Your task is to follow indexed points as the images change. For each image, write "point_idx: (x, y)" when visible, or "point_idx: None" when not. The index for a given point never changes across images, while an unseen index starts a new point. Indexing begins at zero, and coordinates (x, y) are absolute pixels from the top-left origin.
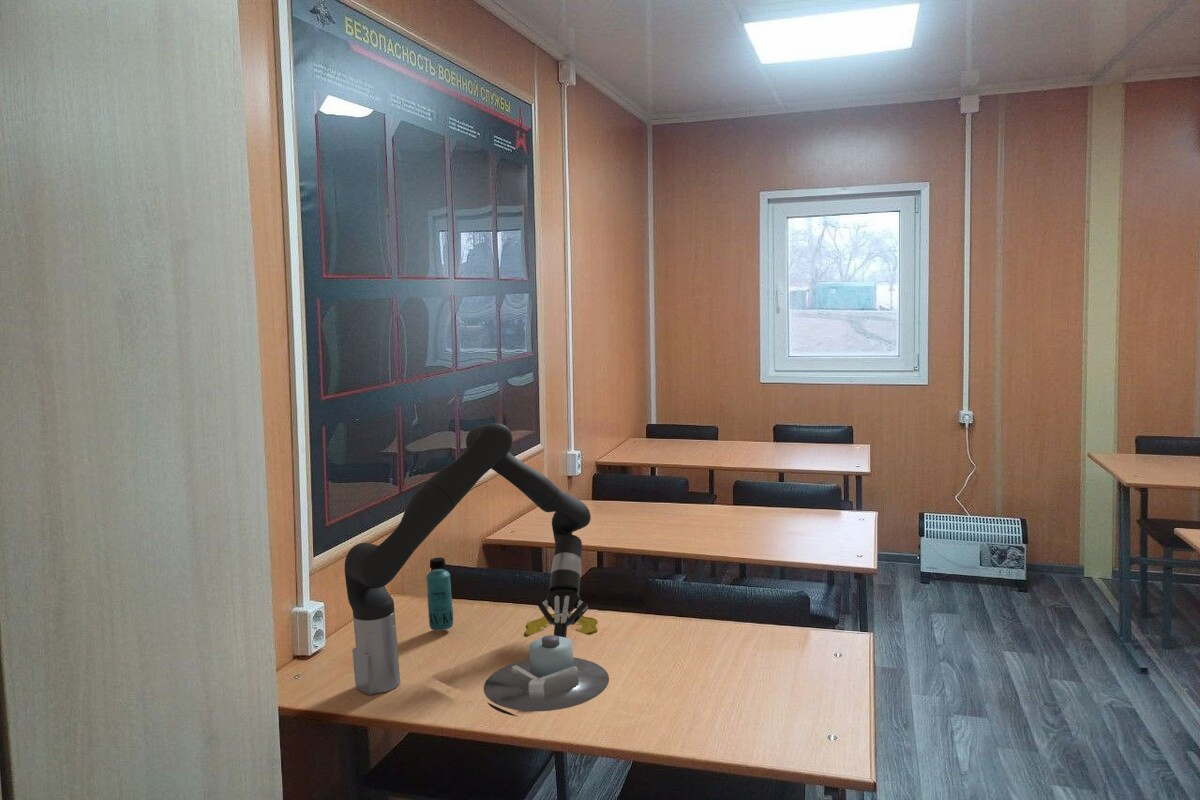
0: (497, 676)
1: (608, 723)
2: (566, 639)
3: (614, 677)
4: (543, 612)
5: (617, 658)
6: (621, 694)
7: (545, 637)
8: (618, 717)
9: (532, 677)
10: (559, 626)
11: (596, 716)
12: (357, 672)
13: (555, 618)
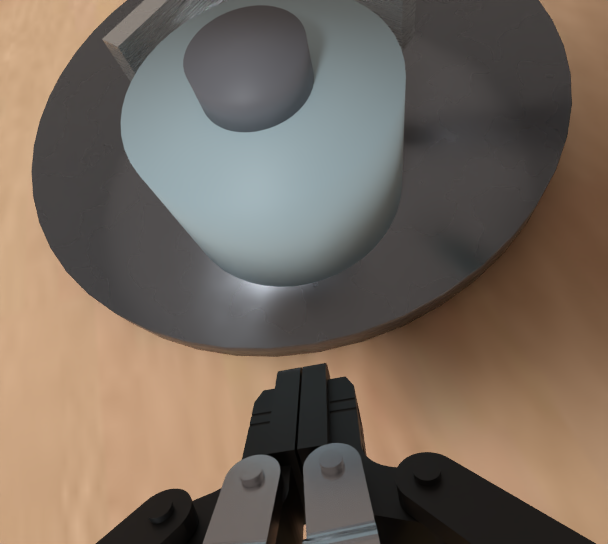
0: (526, 63)
1: (51, 2)
2: (171, 180)
3: (31, 254)
4: (574, 540)
5: (12, 468)
6: (11, 142)
7: (285, 51)
8: (25, 32)
9: None
10: (301, 426)
11: (84, 18)
12: None
13: (355, 482)
